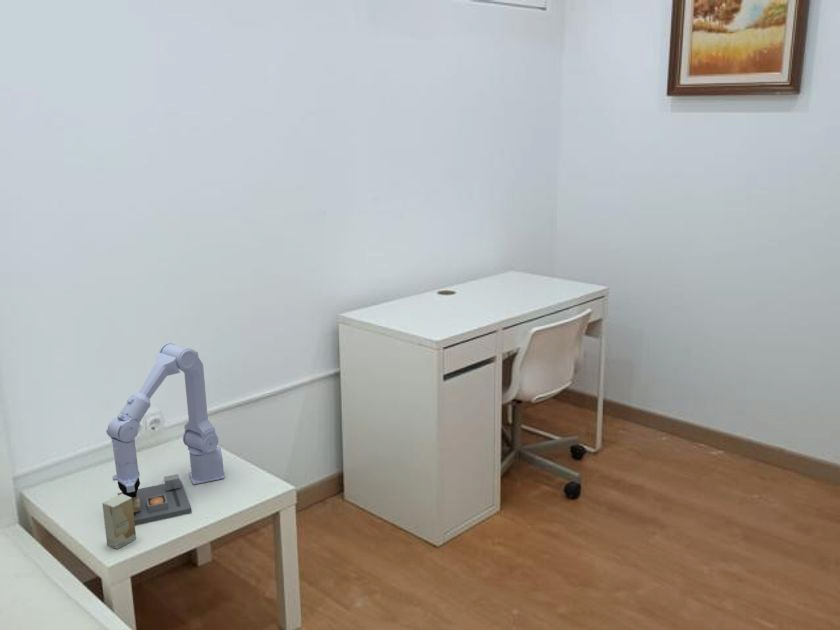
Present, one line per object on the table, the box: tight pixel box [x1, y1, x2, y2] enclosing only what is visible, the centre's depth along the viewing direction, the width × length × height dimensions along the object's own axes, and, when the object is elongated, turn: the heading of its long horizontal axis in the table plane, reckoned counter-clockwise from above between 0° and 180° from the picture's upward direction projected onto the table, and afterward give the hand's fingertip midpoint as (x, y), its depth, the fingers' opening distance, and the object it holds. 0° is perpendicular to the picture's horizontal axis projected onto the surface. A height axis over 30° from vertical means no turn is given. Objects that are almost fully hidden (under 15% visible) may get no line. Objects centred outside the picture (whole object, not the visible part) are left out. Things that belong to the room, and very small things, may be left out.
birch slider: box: [132, 496, 141, 513], centre depth 217 cm, size 4×3×3 cm
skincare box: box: [102, 494, 137, 550], centre depth 204 cm, size 6×4×12 cm
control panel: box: [117, 480, 193, 526], centre depth 223 cm, size 18×18×4 cm
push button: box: [150, 497, 164, 505], centre depth 220 cm, size 4×4×2 cm
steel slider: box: [163, 473, 181, 490], centre depth 229 cm, size 4×3×3 cm
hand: (131, 503), depth 220 cm, fingers closed
